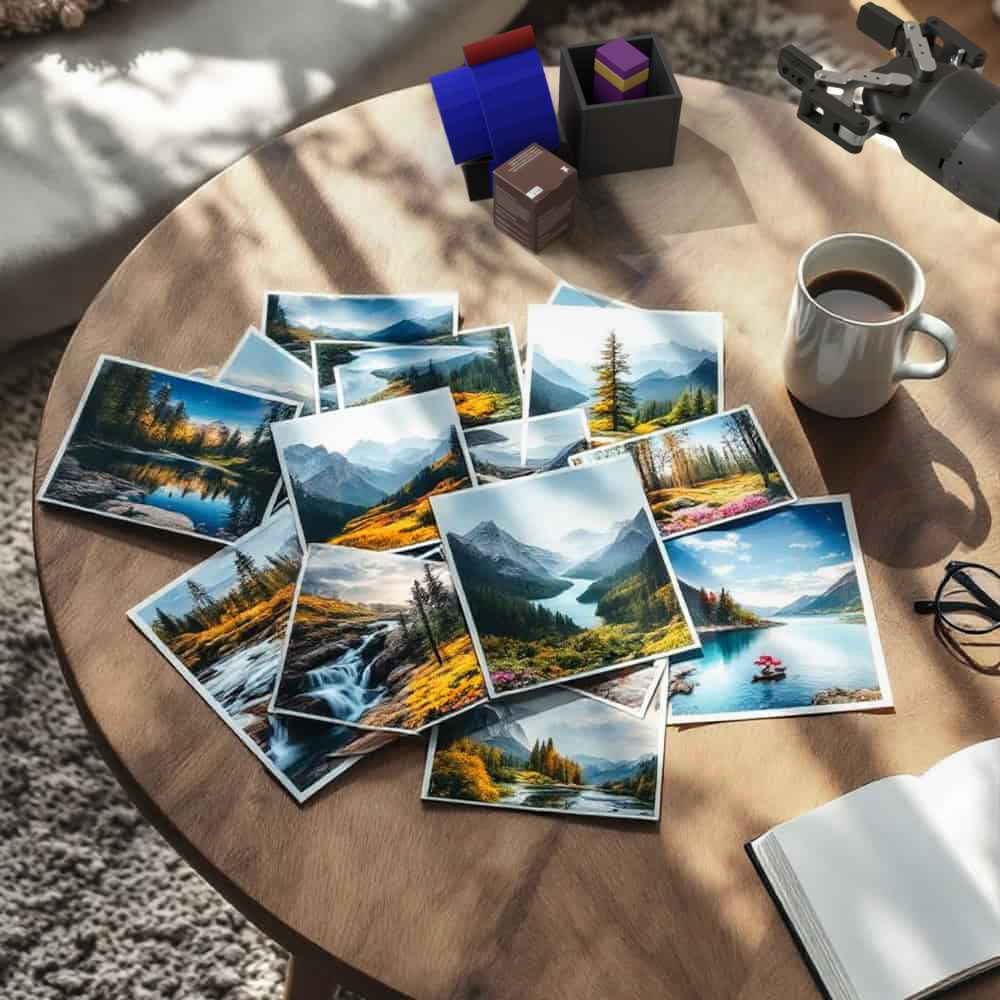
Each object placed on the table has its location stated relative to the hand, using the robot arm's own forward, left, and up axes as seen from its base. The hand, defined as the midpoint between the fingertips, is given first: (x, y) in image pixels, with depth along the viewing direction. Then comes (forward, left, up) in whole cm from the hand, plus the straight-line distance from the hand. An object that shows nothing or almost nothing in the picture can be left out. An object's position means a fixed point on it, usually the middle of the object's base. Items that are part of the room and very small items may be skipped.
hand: (821, 34), depth 96 cm
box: (+19, -13, -29) cm, 38 cm away
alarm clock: (+21, -24, -29) cm, 44 cm away
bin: (+8, -24, -29) cm, 39 cm away
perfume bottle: (+8, -24, -28) cm, 38 cm away
